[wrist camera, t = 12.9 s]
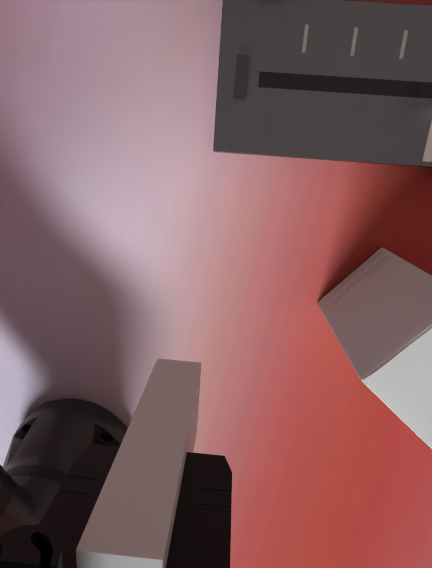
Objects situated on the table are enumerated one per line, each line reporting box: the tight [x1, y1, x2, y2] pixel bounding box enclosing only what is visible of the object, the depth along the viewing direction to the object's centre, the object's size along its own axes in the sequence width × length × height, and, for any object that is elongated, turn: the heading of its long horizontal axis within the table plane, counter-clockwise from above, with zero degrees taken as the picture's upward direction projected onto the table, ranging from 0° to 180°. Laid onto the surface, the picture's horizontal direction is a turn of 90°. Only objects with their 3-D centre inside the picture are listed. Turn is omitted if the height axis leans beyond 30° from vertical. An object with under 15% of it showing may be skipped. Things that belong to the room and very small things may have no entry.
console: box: [213, 0, 432, 168], centre depth 31 cm, size 28×12×3 cm, turn 86°
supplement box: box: [317, 247, 432, 449], centre depth 32 cm, size 9×9×15 cm
